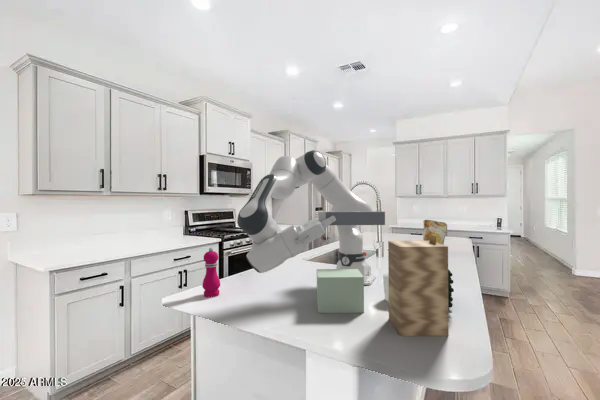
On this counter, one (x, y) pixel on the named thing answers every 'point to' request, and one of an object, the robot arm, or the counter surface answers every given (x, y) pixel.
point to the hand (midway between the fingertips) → (334, 216)
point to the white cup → (386, 286)
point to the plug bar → (354, 217)
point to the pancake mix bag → (435, 230)
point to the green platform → (340, 291)
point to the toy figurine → (450, 289)
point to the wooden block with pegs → (418, 287)
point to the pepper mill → (211, 274)
